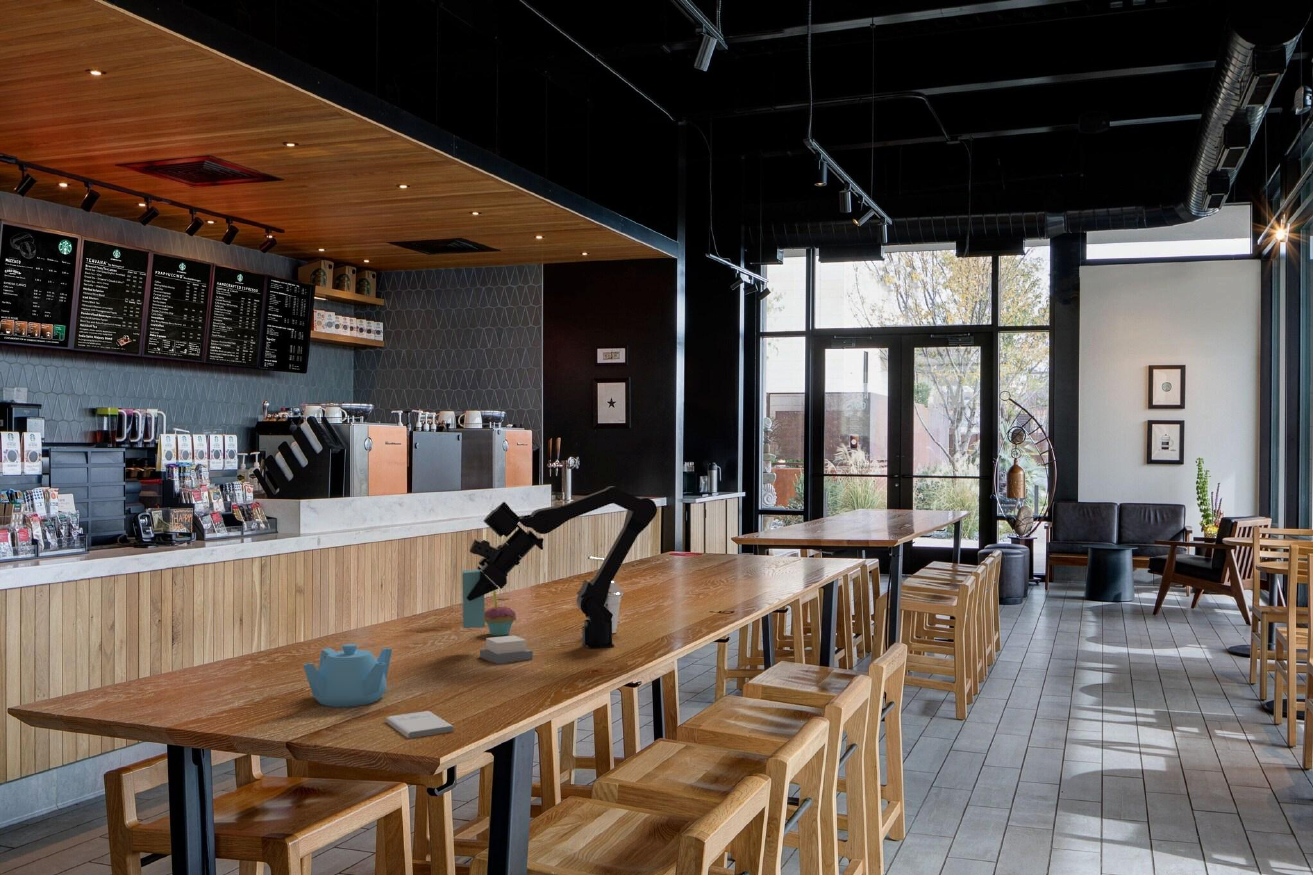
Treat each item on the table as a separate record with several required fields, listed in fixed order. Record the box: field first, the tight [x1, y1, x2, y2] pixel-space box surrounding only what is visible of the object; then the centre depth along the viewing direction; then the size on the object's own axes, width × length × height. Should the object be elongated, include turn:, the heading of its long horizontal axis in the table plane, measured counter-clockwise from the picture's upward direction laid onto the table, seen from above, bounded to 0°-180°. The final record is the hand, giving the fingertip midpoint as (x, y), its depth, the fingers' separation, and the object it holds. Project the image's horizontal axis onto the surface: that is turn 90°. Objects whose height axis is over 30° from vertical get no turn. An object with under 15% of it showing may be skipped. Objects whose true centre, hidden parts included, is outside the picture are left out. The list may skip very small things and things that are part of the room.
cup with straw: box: [587, 556, 624, 634], centre depth 279 cm, size 8×9×20 cm
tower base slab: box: [479, 648, 534, 665], centre depth 246 cm, size 9×9×2 cm
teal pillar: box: [461, 569, 486, 629], centre depth 254 cm, size 5×5×13 cm
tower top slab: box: [485, 635, 527, 654], centre depth 246 cm, size 7×7×2 cm
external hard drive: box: [385, 710, 455, 739], centre depth 188 cm, size 2×8×12 cm
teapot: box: [302, 643, 393, 708], centre depth 208 cm, size 15×15×11 cm
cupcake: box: [485, 590, 517, 637], centre depth 277 cm, size 9×8×12 cm
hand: (467, 597), depth 254 cm, fingers closed on teal pillar, 5 cm apart
